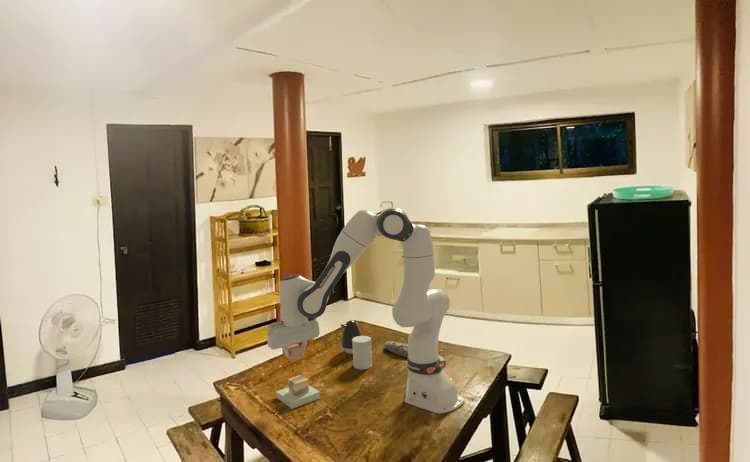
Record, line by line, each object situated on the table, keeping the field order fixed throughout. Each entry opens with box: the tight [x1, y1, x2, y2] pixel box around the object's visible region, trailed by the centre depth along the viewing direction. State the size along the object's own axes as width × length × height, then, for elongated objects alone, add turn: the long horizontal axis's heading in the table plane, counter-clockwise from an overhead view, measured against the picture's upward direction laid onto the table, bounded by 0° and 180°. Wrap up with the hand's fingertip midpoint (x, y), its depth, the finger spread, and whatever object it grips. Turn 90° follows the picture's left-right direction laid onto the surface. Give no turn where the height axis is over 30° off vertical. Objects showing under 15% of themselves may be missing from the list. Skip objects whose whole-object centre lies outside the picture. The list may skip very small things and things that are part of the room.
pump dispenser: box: [340, 319, 363, 355], centre depth 225 cm, size 10×10×15 cm
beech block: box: [287, 374, 309, 397], centre depth 181 cm, size 6×6×5 cm
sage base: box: [275, 384, 321, 410], centre depth 182 cm, size 12×12×3 cm
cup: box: [352, 335, 373, 370], centre depth 209 cm, size 8×8×12 cm
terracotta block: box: [286, 343, 305, 363], centre depth 180 cm, size 4×4×4 cm
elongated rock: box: [383, 340, 447, 367], centre depth 218 cm, size 35×5×10 cm
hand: (295, 354), depth 180 cm, fingers closed on terracotta block, 4 cm apart
